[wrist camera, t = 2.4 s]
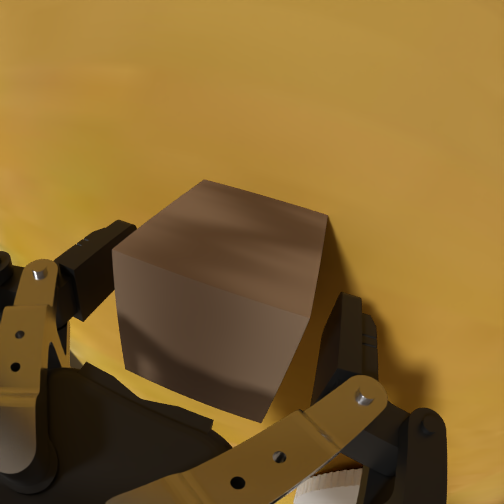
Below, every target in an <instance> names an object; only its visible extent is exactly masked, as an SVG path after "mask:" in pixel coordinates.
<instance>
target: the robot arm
mask: <svg viewBox="0 0 504 504" xmlns="http://www.w3.org/2000/svg"><path fill="white" fill-rule="evenodd" d="M135 230H137V228H136V226H135V225H133V224H130V223H127V222H124V221H121V220H116V221H115V222H113V223H112V224H111V225H109V226H108V227H106V228H102V229H100V230H97V231H94V232H92V233H90V234H89V235H88V236H86V237H85V238H84V240H83V239H82V240H81V241H79V242H78V243H77V245H76V244H75V245H74V246H72V247H71V248H70V249H68V250H67V251H66V252H64V253H63V254H62V255H60V256H59V257H58V258H56V259H55V260H54V261H52V260H48V259H39V260H35V261H33V262H31V263H29V264H28V265H26V267H19V266H14V265H12V262H11V258H10V255H9V254H8V253H7V252H4V251H0V504H274V503H276V502H277V501H279V500H280V499H282V498H283V497H285V496H286V495H287V494H289V493H290V492H291V491H293V490H294V489H296V488H297V487H298V486H299V485H301V484H302V483H303V482H305V481H306V480H307V479H309V478H310V477H311V476H312V475H314V474H315V473H316V472H318V471H319V470H320V469H321V468H323V467H324V466H325V465H326V464H327V463H329V462H330V461H331V460H332V459H333V458H335V457H336V456H337V455H338V454H339V453H340V452H341V453H342V454H344V455H346V456H348V457H350V458H352V459H354V460H355V461H357V462H359V463H361V464H363V470H362V476H361V482H360V487H359V492H358V497H357V502H356V504H446V500H447V438H446V427H445V423H444V421H443V419H442V418H441V417H440V416H439V414H437V413H436V412H435V411H433V410H431V409H428V408H418V409H416V410H414V411H413V412H412V413H411V414H410V413H408V412H406V411H404V410H402V409H400V408H398V407H396V406H395V405H393V404H391V403H390V402H389V401H388V397H387V393H386V391H385V389H384V387H383V386H382V385H381V384H380V383H379V382H378V353H377V340H376V338H377V332H376V325H375V323H374V321H373V320H372V318H371V316H370V315H367V314H364V313H362V300H361V298H360V297H356V296H353V295H350V294H347V293H344V292H341V293H340V295H339V297H338V299H337V301H336V303H335V305H334V308H333V310H332V312H331V314H330V316H329V318H328V320H327V323H326V325H325V328H324V331H323V334H322V338H321V344H320V351H319V358H318V364H317V370H316V376H315V382H314V388H313V394H312V399H311V405H310V408H308V409H307V410H305V411H302V410H301V409H299V410H296V411H294V412H292V413H291V414H289V415H288V416H286V417H285V418H283V419H281V420H280V421H278V422H277V423H275V424H273V425H272V426H270V427H268V428H267V429H265V430H263V431H262V432H260V433H258V434H257V435H255V436H253V437H251V438H250V439H248V440H246V441H244V442H243V443H241V444H239V445H237V446H235V447H234V448H232V446H231V445H230V444H229V443H228V442H227V441H226V440H225V439H224V438H223V437H221V436H220V435H219V434H218V433H216V432H215V431H213V430H212V425H213V421H214V420H212V419H209V418H207V417H204V416H201V415H199V414H196V413H194V412H191V411H188V410H186V409H183V408H181V407H178V406H173V405H167V404H162V403H157V402H152V401H148V400H143V399H141V398H139V397H137V396H136V395H135V394H134V393H132V392H131V391H130V390H129V389H128V388H126V387H125V386H124V385H123V384H122V383H121V382H119V381H118V380H117V379H116V378H115V377H114V376H112V375H110V374H108V373H106V372H104V371H102V370H100V369H99V368H97V367H95V366H93V365H91V364H90V363H88V362H86V363H85V364H84V365H83V367H82V368H81V369H76V368H70V362H69V361H70V357H69V356H70V322H69V320H70V319H71V318H72V317H75V318H77V319H79V320H81V321H83V322H84V321H85V320H86V319H87V317H88V316H89V315H90V314H91V313H92V312H93V311H94V310H95V309H96V308H97V307H98V306H99V305H100V304H101V303H102V302H103V301H104V300H105V299H106V298H107V297H108V296H109V295H110V294H111V293H112V292H113V291H114V290H115V286H114V275H113V261H112V249H113V248H114V247H115V246H117V245H118V244H119V243H120V242H122V241H123V240H124V239H125V238H127V237H128V236H129V235H130V234H132V233H133V232H134V231H135Z"/></svg>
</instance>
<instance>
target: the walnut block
mask: <svg viewBox="0 0 504 504" xmlns="http://www.w3.org/2000/svg"><path fill="white" fill-rule="evenodd" d="M327 218H328V215H325V214H322V213H319V212H316V211H313V210H309V209H306V208H303V207H300V206H296V205H293V204H290V203H286V202H283V201H280V200H276V199H273V198H269V197H266V196H263V195H259V194H256V193H252V192H248V191H245V190H241V189H238V188H234V187H230V186H227V185H223V184H219V183H216V182H212V181H208V180H203V181H201V182H200V183H199V184H197V185H196V186H194V187H193V188H192V189H190V190H189V191H187V192H186V193H185V194H183V195H182V196H180V197H179V198H178V199H176V200H175V201H174V202H172V203H171V204H170V205H168V206H167V207H166V208H164V209H163V210H162V211H160V212H159V213H158V214H156V215H155V216H154V217H152V218H151V219H150V220H148V221H147V222H146V223H144V224H143V225H142V226H141V227H139V228H138V229H137V230H135V231H134V232H133V233H132V234H130V235H129V236H128V237H127V238H125V239H124V240H123V241H122V242H120V243H119V244H118V245H117V246H115V247H114V248H113V249H112V261H113V275H114V286H115V297H116V306H117V315H118V323H119V331H120V338H121V345H122V352H123V358H124V364H125V369H126V370H128V371H130V372H133V373H135V374H137V375H139V376H141V377H143V378H145V379H147V380H149V381H152V382H154V383H156V384H158V385H161V386H163V387H165V388H167V389H170V390H172V391H174V392H177V393H179V394H182V395H184V396H186V397H189V398H191V399H194V400H196V401H199V402H202V403H204V404H207V405H209V406H212V407H215V408H218V409H220V410H223V411H226V412H229V413H232V414H235V415H237V416H240V417H243V418H246V419H249V420H253V421H256V422H259V423H262V421H263V419H264V417H265V415H266V413H267V411H268V409H269V407H270V405H271V403H272V401H273V399H274V397H275V394H276V392H277V390H278V388H279V386H280V384H281V382H282V380H283V378H284V375H285V373H286V371H287V369H288V367H289V365H290V362H291V360H292V358H293V356H294V354H295V351H296V349H297V347H298V345H299V342H300V340H301V338H302V336H303V333H304V331H305V329H306V326H307V324H308V322H309V319H310V315H311V310H312V305H313V300H314V295H315V289H316V284H317V278H318V273H319V267H320V261H321V256H322V250H323V243H324V237H325V231H326V224H327Z"/></svg>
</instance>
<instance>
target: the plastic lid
mask: <svg viewBox="0 0 504 504" xmlns="http://www.w3.org/2000/svg"><path fill="white" fill-rule="evenodd" d="M362 470H363V469H362V468H360V469H356V470H355V469H351V470H343V471H336V472H329V473H328V474H327V473H324V474H323V475H318V476H313V478H309V479H307V480H306V481H305V482H303V483H302V484H301V485H299V486H298V487H297V490H296V494H295V498H294V504H356V502H357V497H358V492H359V487H360V482H361V476H362Z"/></svg>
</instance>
